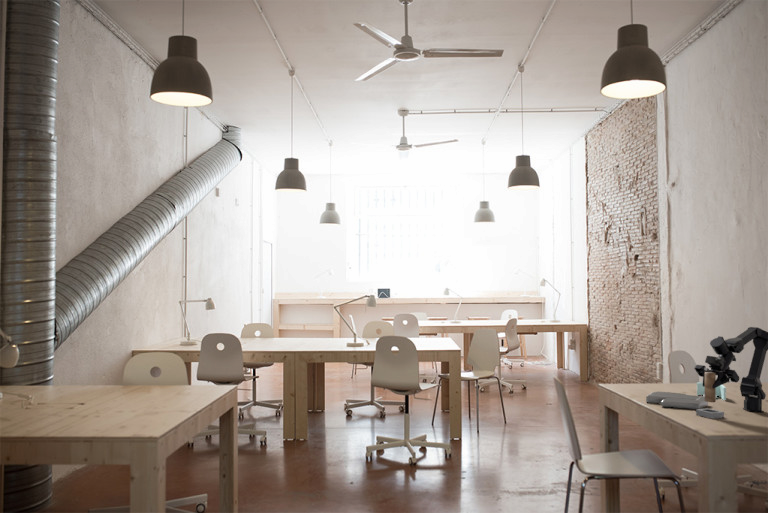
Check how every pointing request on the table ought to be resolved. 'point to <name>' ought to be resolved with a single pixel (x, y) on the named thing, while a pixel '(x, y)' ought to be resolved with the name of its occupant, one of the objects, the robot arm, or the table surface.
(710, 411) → the socket block
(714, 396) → the walnut dowel
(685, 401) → the emblem
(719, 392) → the l-shaped corner panel
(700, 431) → the table surface
